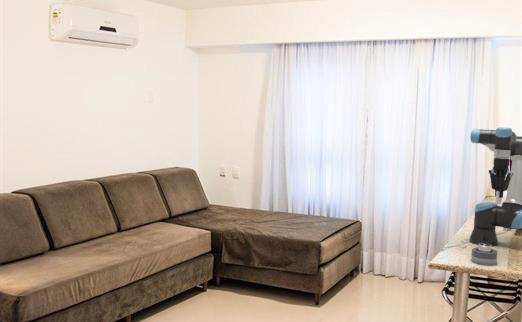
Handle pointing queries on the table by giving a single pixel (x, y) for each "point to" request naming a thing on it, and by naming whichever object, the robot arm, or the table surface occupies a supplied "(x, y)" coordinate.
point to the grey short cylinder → (484, 257)
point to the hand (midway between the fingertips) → (498, 203)
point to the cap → (484, 247)
